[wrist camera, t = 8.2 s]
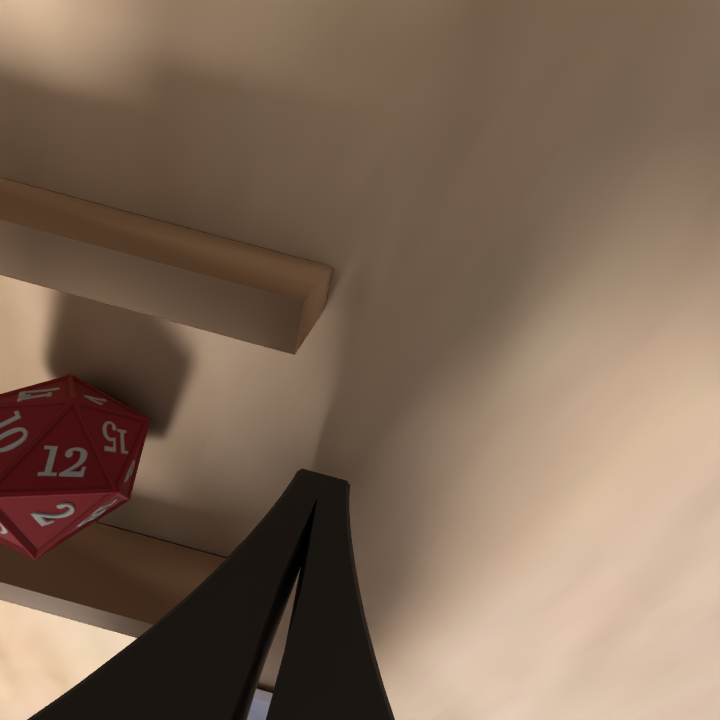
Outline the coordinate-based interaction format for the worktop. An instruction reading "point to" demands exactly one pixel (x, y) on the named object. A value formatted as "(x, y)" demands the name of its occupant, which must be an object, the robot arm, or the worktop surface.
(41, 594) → the tray frame
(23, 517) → the dice
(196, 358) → the worktop surface
